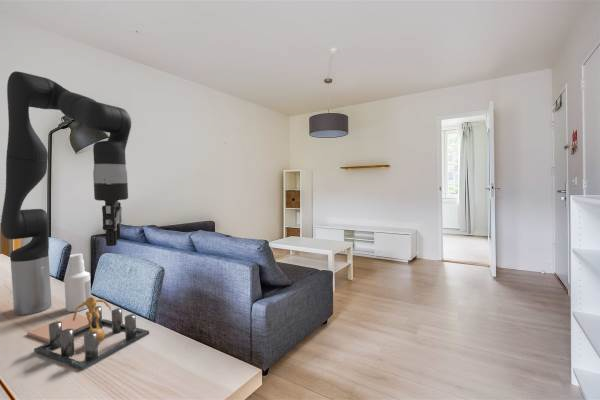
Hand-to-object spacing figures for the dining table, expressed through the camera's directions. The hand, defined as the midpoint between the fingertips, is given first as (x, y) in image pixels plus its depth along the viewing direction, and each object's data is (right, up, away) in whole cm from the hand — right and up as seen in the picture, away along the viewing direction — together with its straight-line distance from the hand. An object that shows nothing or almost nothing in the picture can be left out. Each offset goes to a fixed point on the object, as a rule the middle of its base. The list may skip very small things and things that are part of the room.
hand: (113, 242), depth 78 cm
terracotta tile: (-18, -25, +5) cm, 31 cm away
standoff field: (-4, -26, -2) cm, 26 cm away
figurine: (-4, -26, -2) cm, 26 cm away
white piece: (-24, -25, +20) cm, 40 cm away
